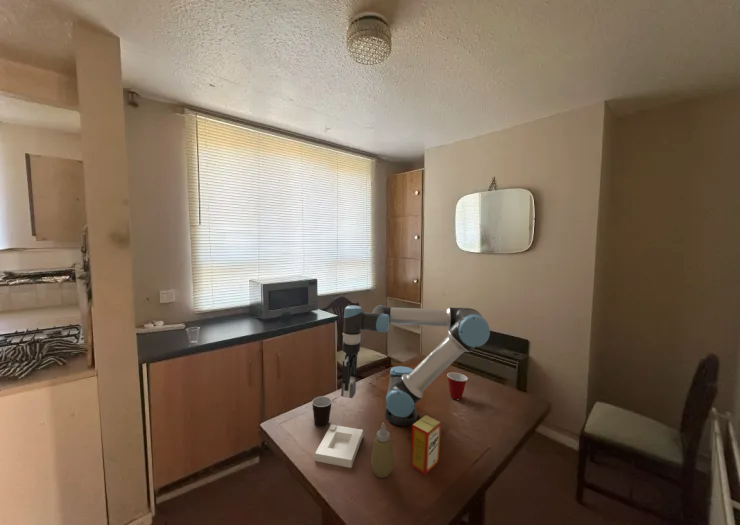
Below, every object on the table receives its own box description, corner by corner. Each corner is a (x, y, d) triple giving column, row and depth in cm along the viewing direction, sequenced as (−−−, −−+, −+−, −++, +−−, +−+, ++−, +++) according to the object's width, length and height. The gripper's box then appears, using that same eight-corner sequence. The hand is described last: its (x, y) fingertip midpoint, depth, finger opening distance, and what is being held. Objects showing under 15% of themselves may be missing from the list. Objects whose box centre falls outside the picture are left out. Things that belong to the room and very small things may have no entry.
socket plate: (362, 436, 127) (362, 427, 127) (351, 467, 109) (351, 458, 109) (330, 431, 130) (331, 422, 129) (314, 460, 112) (315, 451, 112)
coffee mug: (327, 430, 130) (327, 408, 130) (308, 427, 132) (309, 405, 131) (335, 415, 142) (336, 394, 141) (318, 412, 143) (318, 392, 143)
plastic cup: (470, 397, 162) (471, 376, 161) (460, 405, 154) (461, 382, 153) (452, 390, 169) (453, 369, 168) (441, 396, 162) (442, 375, 161)
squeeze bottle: (369, 463, 112) (371, 417, 110) (391, 462, 112) (393, 416, 111) (371, 481, 104) (373, 431, 102) (394, 480, 104) (396, 430, 103)
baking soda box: (425, 475, 107) (427, 432, 106) (410, 465, 112) (412, 423, 110) (439, 461, 114) (441, 420, 113) (424, 452, 119) (426, 413, 117)
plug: (355, 393, 134) (356, 378, 133) (352, 398, 129) (353, 383, 129) (344, 391, 135) (345, 376, 134) (341, 396, 131) (342, 380, 130)
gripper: (350, 334, 139) (347, 383, 141) (335, 347, 123) (332, 402, 125) (365, 337, 137) (362, 386, 139) (353, 350, 121) (349, 406, 122)
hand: (348, 393), depth 132 cm, fingers closed on plug, 4 cm apart
